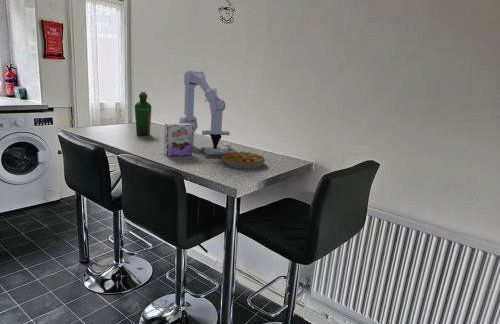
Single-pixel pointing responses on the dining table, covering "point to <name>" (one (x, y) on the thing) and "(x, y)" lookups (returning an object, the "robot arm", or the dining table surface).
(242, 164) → the pie
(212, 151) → the control box
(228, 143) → the slider back
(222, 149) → the slider front
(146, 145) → the dining table surface
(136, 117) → the bottle
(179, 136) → the candy box
